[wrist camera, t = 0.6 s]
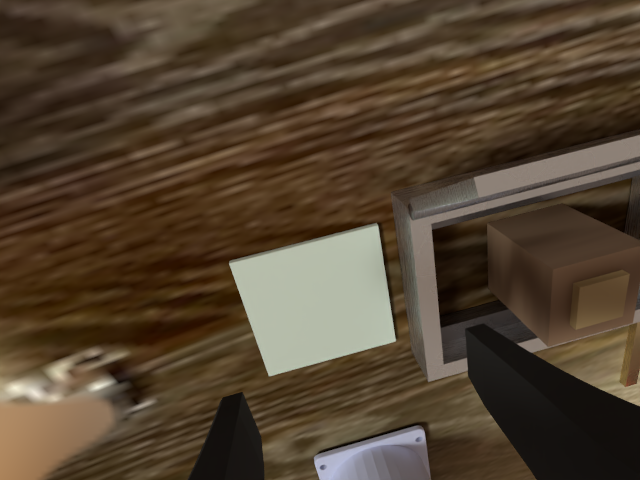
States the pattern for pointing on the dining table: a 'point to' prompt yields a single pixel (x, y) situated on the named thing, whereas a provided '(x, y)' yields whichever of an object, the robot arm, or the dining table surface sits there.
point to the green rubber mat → (317, 298)
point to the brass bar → (631, 356)
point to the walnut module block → (563, 272)
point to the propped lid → (526, 177)
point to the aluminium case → (449, 330)
